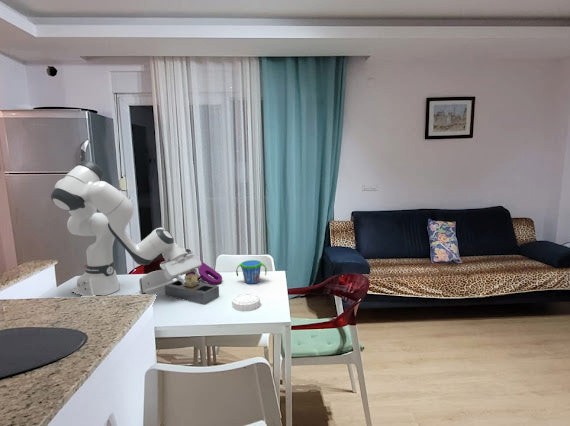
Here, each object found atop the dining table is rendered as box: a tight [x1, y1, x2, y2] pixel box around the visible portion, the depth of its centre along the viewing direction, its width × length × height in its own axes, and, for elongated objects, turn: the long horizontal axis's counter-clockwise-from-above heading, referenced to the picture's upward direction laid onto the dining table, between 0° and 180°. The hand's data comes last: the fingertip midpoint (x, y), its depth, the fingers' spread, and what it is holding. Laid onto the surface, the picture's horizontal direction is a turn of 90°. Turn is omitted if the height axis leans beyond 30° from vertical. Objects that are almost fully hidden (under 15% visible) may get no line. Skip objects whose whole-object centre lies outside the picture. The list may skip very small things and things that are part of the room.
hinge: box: [138, 269, 175, 295], centre depth 172 cm, size 17×5×10 cm, turn 142°
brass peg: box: [184, 274, 199, 289], centre depth 161 cm, size 4×4×10 cm
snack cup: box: [235, 259, 267, 285], centre depth 179 cm, size 16×10×10 cm
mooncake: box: [231, 293, 261, 312], centre depth 150 cm, size 12×12×4 cm
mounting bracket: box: [185, 259, 223, 286], centre depth 181 cm, size 9×8×18 cm
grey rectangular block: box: [164, 279, 220, 305], centre depth 162 cm, size 24×10×5 cm, turn 61°
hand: (192, 280), depth 161 cm, fingers open, 7 cm apart
